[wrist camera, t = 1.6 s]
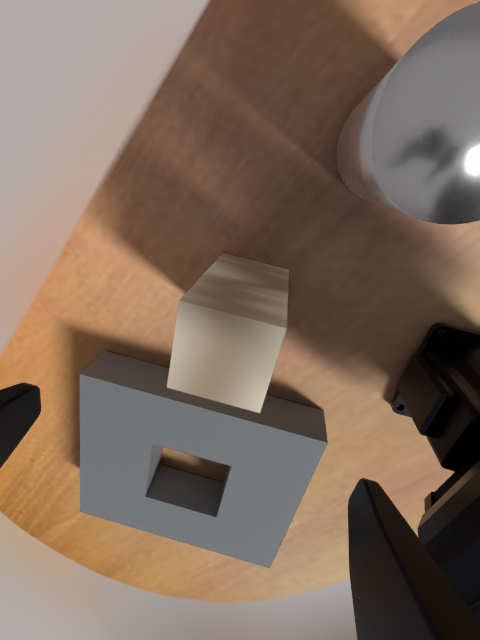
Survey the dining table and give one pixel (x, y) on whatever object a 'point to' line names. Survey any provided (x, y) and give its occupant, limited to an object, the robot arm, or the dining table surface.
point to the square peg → (230, 332)
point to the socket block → (198, 440)
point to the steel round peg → (422, 128)
